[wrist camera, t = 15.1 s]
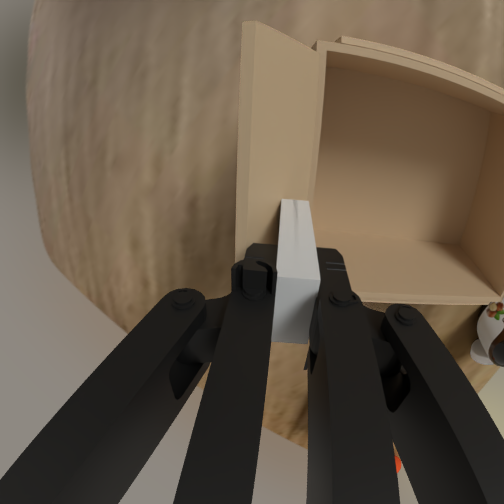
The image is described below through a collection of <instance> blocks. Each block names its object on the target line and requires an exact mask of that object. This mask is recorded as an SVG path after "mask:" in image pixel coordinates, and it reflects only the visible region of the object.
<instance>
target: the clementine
mask: <svg viewBox="0 0 504 504" xmlns="http://www.w3.org/2000/svg"><path fill="white" fill-rule="evenodd" d="M395 462H396V470H397V473H398V472H399V470H400V469H401V460H400V459H399V458H398V457H397V456H395Z"/></svg>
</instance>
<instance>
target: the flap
mask: <svg viewBox="0 0 504 504" xmlns="http://www.w3.org/2000/svg"><path fill="white" fill-rule="evenodd" d="M319 62H320V54H319V53H318V52H316V51H314V50H313V49H311V48H309V47H307V46H306V45H304V44H302V43H300V42H298V41H297V40H295V39H293V38H291V37H289V36H287V35H285V34H283V33H281V32H279V31H277V30H275V29H273V28H271V27H269V26H267V25H265V24H263V23H261V22H258V21H256V20H255V21H243V23H242V43H241V66H240V90H239V118H238V149H237V187H236V234H235V263H237V262H239V261H240V260H244V257H245V253H246V249H247V248H248V247H249V246H250V245H252V244H253V243H261V244H274V245H278V239H279V227H280V213H281V200H282V199H292V200H304V201H307V196H308V187H309V178H310V169H311V160H312V150H313V140H314V129H315V117H316V105H317V92H318V78H319Z"/></svg>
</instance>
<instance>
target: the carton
mask: <svg viewBox="0 0 504 504" xmlns="http://www.w3.org/2000/svg"><path fill="white" fill-rule="evenodd" d="M311 49H313V50H314V51H316V52H318V53H319V54H320V62H319V78H318V92H317V105H316V117H315V129H314V140H313V150H312V160H311V169H310V178H309V187H308V196H307V201H309V206H310V212H311V218H312V224H313V230H314V237H315V244H316V247H321V248H333V249H337V250H338V251H339V253H340V254H341V255H342V256H343V259H344V263H345V266H346V271H347V274H348V278H349V281H350V285H351V289H352V291H353V292H355V293H356V294H357V295H358V296H359V297H360V299H361V301H362V302H382V303H408V304H447V305H489V303H490V302H502V300H503V298H504V89H503V88H501V87H499V86H497V85H495V84H493V83H491V82H489V81H486V80H484V79H482V78H480V77H478V76H475V75H473V74H471V73H469V72H466V71H464V70H461V69H459V68H456V67H454V66H451V65H449V64H446V63H443V62H440V61H438V60H435V59H432V58H429V57H426V56H423V55H420V54H417V53H413V52H410V51H406V50H403V49H399V48H396V47H392V46H388V45H384V44H380V43H376V42H371V41H367V40H362V39H357V38H351V37H346V36H341V37H340V38H338V39H337V40H336V41H335V42H328V41H321V40H317V41H316V42H315V44H314V45H313V46H312V48H311Z"/></svg>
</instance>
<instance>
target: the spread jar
mask: <svg viewBox="0 0 504 504" xmlns="http://www.w3.org/2000/svg"><path fill="white" fill-rule="evenodd" d="M477 333H478V337H479V339H477V340H476V341H474V342H473V343H472V346H471V351H470V355H471V357H472V359H473V360H474V361H476V362H478V363H480V364H484V365H493V364H495V365H497V366H501V367H504V298H503V300H502V302H490V303H489V305H484V307H483V308H482V310H481V312H480V314H479V316H478V320H477Z"/></svg>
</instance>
